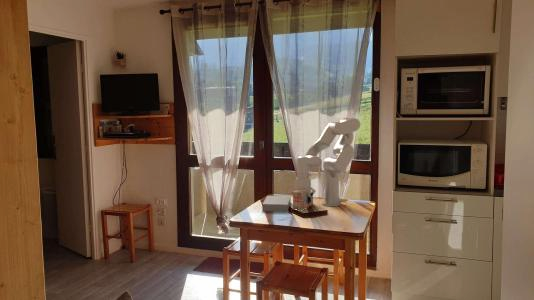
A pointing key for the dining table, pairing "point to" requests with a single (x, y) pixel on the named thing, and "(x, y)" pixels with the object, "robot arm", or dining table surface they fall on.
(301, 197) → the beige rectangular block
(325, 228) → the dining table surface
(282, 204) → the grey box
